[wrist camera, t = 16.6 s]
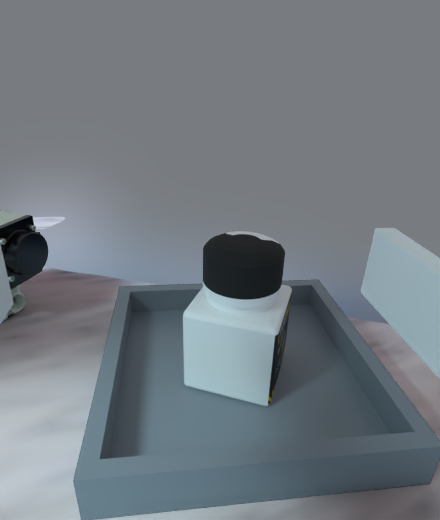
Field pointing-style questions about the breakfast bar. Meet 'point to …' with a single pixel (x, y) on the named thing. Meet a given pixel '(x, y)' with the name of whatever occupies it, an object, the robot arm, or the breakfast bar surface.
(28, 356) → the breakfast bar surface
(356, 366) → the tray
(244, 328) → the medicine bottle
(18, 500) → the breakfast bar surface
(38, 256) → the pneumatic valve
